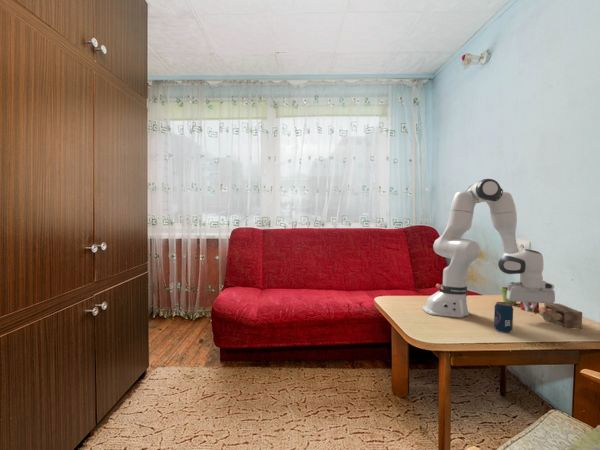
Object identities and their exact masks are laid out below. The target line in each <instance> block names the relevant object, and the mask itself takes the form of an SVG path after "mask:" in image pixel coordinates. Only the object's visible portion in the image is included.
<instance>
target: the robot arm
mask: <svg viewBox="0 0 600 450" xmlns="http://www.w3.org/2000/svg"><path fill="white" fill-rule="evenodd" d="M479 203H486V204H487V205H488V207H489V213H490V214H489V215H490V220H491V223H492V225H493V228H494V229H495V230H496V231H497V233H498V234H499V236H500V238H501V245H502V249H503V251H502V252H503V255H502V257H500V259H499V260H498V263H497V266H498V268H499V270H500V271H501V272H502V273H504V274H507V275H515V274H517V275H518V274H519V275H520V276H519V282H517V281H516V282H515V281H511V282H509V283H508V284H507V287H508V290H507V295H506V298H507V299H508V300H510V301H517V302H520V303H521V302H523V304H524V306H525V310H526V311H525V310H524V311H525V312H530V311H532V312H531V313H534V312H533V311H534V308H535V306H536V305H537V303H539V304H545V303H549V304H553V303H556V302H555V301H556V293H555V285H554V284H552V283H550V282H547V281H545V280H544V279H543V271H544V256H543V254H542V253H541V252H539V251H537V250H533V249H529V248H528V249H527V248H526V249H522V250H521V251H519V250H518V245H517V240H516V239H517V237H516V233H517V232H516V230H517V222H518V219H517V217H518V215H517V209H516V204H515V200H514V198H513V195H512V194H511V193H510V192H508V191H504V189H502V187H501V186H500V184H499V182H498V181H497V180H496V179H493V178H484V179H482V180H478V181H476V182H474V183H473V184H471V185H469V187H468V188H467V189H466V190H461V191H457V192H456V193H455V194H454V195H453V198H452V202H451V204H450V209H449V215H448V220H447V224H446V227H445V229H444V230H443V233H442V234H441V235H440V236H439V237H438V238H436V239H435V240H434V243H433V245H432V247H433V251H434V253H435V254H437V255H439V256H441V257H443V258H447V259H451V260H450V262H449V265H447V266H446V267H444V268H443V271H442V283H441V284H440V283H436V285H435V287H436V288H437V289H438V291H436V292H435V293H433V294H431V295H430V296H428V298H427V300H426V304H423V305H422V307H421V310H422V311H424V312H425V313H426V314H429V315H430V316H431V315H433V316H441V317H453V318H461V319H462V318H464V317H465V316H469V314H470V313H469V309H468V301H467V296H468V286H467V276H468V271H469V268H470V266H471V265H472V263H473V262H474V261H475V260H477V259H478V258H479V257H480V254H481V247H480V244H479V243H478V242H476V241H474V240H470V239H469V238H462V237H463V235H464V234H466V232H467V231H470V229H472V224H473V219H474V212H475V207H476V205H477V204H479ZM529 302H531V304H532V305H531V306H530V307H528V305H527V304H528V303H529Z"/></svg>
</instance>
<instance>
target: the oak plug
mask: <svg viewBox="0 0 600 450" xmlns="http://www.w3.org/2000/svg"><path fill="white" fill-rule="evenodd" d="M542 318H543V320H544V321H545V322H551V320H559V321H564V314H561V313H549V312H544V313H543V316H542Z"/></svg>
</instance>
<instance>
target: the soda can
mask: <svg viewBox="0 0 600 450" xmlns="http://www.w3.org/2000/svg"><path fill="white" fill-rule="evenodd" d="M493 314H494V315H493V318H494V319H493V326H494V329H495V330H496V331H498V332H501V333H511V332H512V331H513V327H514V323H513V321H514V308H513V306H512V304H510V303H506V302H503V301H496V303H495V305H494V313H493Z"/></svg>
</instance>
